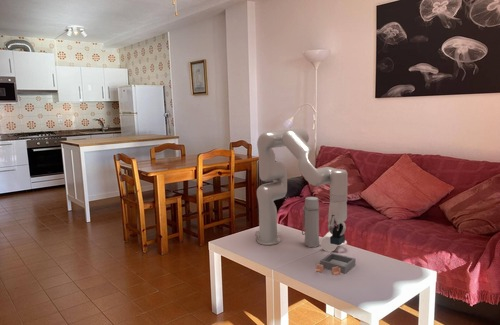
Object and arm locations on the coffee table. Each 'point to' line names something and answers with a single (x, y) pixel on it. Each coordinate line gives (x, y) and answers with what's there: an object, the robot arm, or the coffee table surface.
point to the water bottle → (311, 221)
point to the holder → (338, 262)
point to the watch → (342, 237)
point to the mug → (327, 245)
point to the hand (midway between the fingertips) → (338, 237)
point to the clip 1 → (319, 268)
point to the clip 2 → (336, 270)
